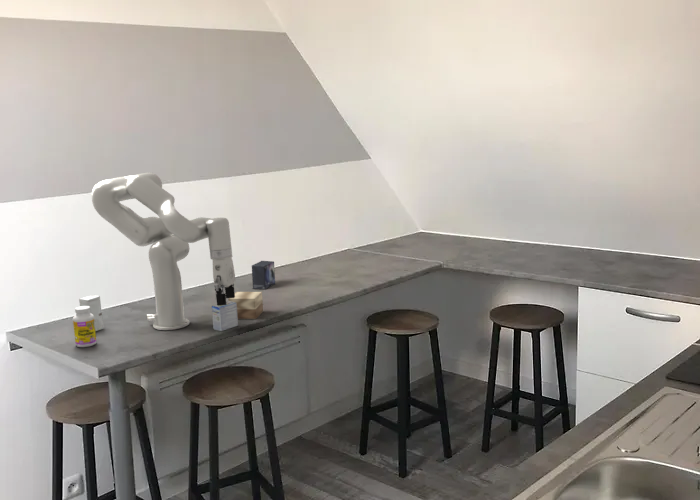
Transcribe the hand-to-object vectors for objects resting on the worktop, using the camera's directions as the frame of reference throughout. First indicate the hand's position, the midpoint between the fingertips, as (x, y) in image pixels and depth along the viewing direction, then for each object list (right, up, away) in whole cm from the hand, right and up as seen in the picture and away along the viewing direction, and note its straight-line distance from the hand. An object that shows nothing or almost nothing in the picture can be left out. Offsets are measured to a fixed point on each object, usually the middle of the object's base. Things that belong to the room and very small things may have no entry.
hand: (226, 301), depth 249 cm
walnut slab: (+5, -7, +17) cm, 19 cm away
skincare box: (-49, -11, +5) cm, 50 cm away
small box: (+6, +2, +61) cm, 61 cm away
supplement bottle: (-45, -14, -11) cm, 48 cm away
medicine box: (0, -10, +2) cm, 10 cm away
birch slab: (+5, -3, +17) cm, 17 cm away
